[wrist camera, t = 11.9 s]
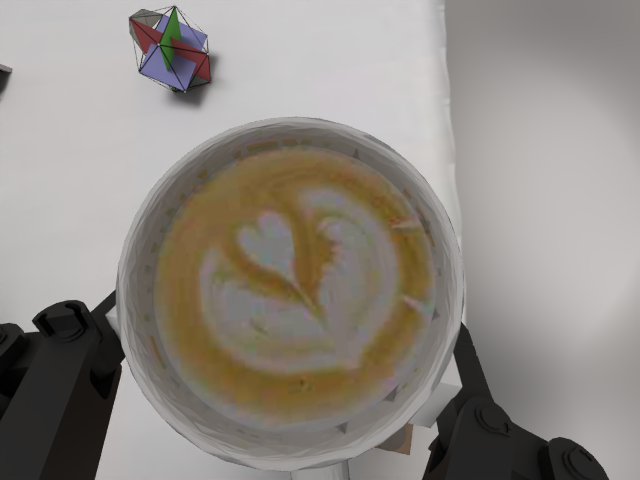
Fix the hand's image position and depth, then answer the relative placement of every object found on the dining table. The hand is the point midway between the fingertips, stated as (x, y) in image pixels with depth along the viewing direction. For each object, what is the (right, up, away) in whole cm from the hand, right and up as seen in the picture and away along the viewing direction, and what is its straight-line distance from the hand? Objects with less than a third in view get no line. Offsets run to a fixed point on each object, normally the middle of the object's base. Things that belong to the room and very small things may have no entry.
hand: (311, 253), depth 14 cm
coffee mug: (0, -4, +3) cm, 5 cm away
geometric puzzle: (-14, +18, +16) cm, 28 cm away
